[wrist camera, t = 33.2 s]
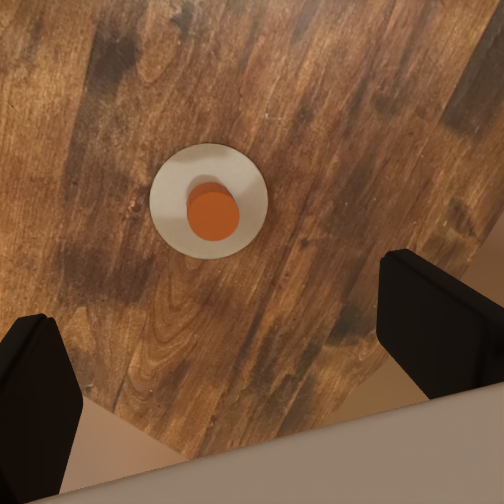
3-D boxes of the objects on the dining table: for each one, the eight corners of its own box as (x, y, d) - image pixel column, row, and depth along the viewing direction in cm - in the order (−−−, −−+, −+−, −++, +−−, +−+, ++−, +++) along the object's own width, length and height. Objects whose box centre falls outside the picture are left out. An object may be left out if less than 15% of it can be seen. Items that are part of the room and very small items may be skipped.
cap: (232, 180, 30) (240, 189, 27) (233, 226, 32) (240, 240, 29) (184, 182, 30) (185, 192, 26) (187, 229, 31) (189, 243, 28)
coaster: (162, 264, 33) (162, 267, 32) (138, 150, 29) (137, 151, 28) (270, 246, 34) (272, 249, 33) (261, 135, 30) (263, 136, 30)
